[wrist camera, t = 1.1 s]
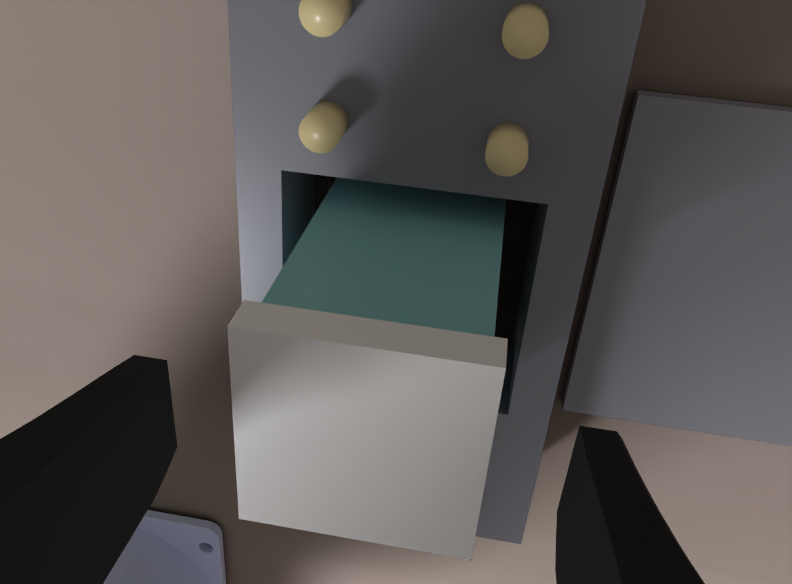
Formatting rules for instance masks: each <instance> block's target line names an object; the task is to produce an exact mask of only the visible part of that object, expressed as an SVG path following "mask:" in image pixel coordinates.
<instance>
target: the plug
mask: <svg viewBox="0 0 792 584" xmlns="http://www.w3.org/2000/svg"><path fill="white" fill-rule="evenodd" d="M505 208H506V199H502V198H495V197H487V196H479V195H471V194H463V193H455V192H448V191H440V190H432V189H424V188H416V187H409V186H401V185H393V184H385V183H377V182H370V181H362V180H354V179H346V178H338V177H337V178H336V180H335V181H334V183H333V185H332V186H331V188H330V190H329V191H328V193H327V195H326V196H325V198H324V199H323V201H322V203H321V204H320V206H319V208H318V209H317V211H316V213H315V214H314V216H313V218H312V219H311V221H310V223H309V224H308V226H307V228H306V229H305V231H304V233H303V234H302V236H301V238H300V239H299V241H298V243H297V244H296V246H295V248H294V249H293V251H292V253H291V254H290V256H289V258H288V259H287V261H286V263H285V264H284V266H283V268H282V269H281V271H280V273H279V274H278V276H277V278H276V279H275V281H274V283H273V284H272V286H271V288H270V289H269V291H268V292H267V294H266V296H265V297H264V299H263V301H262V302H255V301H248V300H244V301H243V302H242V304H241V305H240V307H239V308H238V310H237V312H236V313H235V315H234V316H233V318H232V319H231V321H230V322H229V324H228V326H227V331H228V348H229V364H230V381H231V397H232V413H233V430H234V446H235V463H236V479H237V496H238V512H239V519H243V520H248V521H254V522H260V523H265V524H271V525H276V526H282V527H288V528H293V529H299V530H304V531H310V532H316V533H321V534H327V535H333V536H338V537H344V538H349V539H355V540H361V541H366V542H372V543H377V544H383V545H389V546H394V547H400V548H405V549H411V550H417V551H422V552H428V553H433V554H439V555H445V556H450V557H456V558H461V559H467V560H471V557H472V552H473V547H474V541H475V536H476V530H477V525H478V519H479V514H480V508H481V503H482V497H483V492H484V486H485V481H486V475H487V470H488V464H489V459H490V453H491V448H492V442H493V437H494V431H495V426H496V420H497V415H498V409H499V404H500V398H501V393H502V387H503V382H504V376H505V371H506V359H507V342H508V339H506V338H499V337H494V336H495V325H496V313H497V301H498V290H499V278H500V266H501V254H502V243H503V231H504V219H505Z"/></svg>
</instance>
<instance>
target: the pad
mask: <svg viewBox="0 0 792 584" xmlns="http://www.w3.org/2000/svg"><path fill="white" fill-rule="evenodd" d="M562 411H568V412H575V413H581V414H588V415H594V416H601V417H607V418H614V419H620V420H626V421H633V422H639V423H646V424H652V425H659V426H665V427H671V428H678V429H684V430H691V431H697V432H704V433H710V434H717V435H723V436H729V437H736V438H742V439H749V440H755V441H762V442H768V443H775V444H781V445H787V446H792V107H786V106H777V105H768V104H759V103H750V102H741V101H732V100H723V99H714V98H705V97H696V96H688V95H679V94H670V93H661V92H652V91H643V90H636V94H635V98H634V102H633V106H632V110H631V115H630V119H629V123H628V127H627V131H626V135H625V140H624V144H623V148H622V152H621V156H620V161H619V165H618V169H617V173H616V177H615V182H614V186H613V190H612V194H611V198H610V202H609V207H608V211H607V215H606V219H605V223H604V228H603V232H602V236H601V240H600V244H599V248H598V253H597V257H596V261H595V265H594V269H593V274H592V278H591V282H590V286H589V290H588V295H587V299H586V303H585V307H584V311H583V315H582V320H581V324H580V328H579V332H578V336H577V341H576V345H575V349H574V353H573V357H572V362H571V366H570V370H569V374H568V378H567V382H566V387H565V391H564V395H563V399H562Z"/></svg>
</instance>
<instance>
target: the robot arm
mask: <svg viewBox="0 0 792 584" xmlns="http://www.w3.org/2000/svg"><path fill="white" fill-rule="evenodd" d="M176 448H177V441H176V433H175V424H174V416H173V407H172V399H171V390H170V382H169V373H168V365H167V360H162V359H156V358H149V357H143V356H137V355H134V356H132V357H130V358H129V359H127V360H125V361H124V362H122V363H121V364H119V365H117V366H116V367H114V368H113V369H111V370H110V371H108V372H107V373H105V374H104V375H102V376H100V377H99V378H97V379H96V380H94V381H93V382H91V383H90V384H88V385H87V386H85V387H84V388H82V389H81V390H79V391H78V392H76V393H75V394H73V395H71V396H70V397H68V398H67V399H65V400H64V401H62V402H60V403H59V404H57V405H56V406H54V407H53V408H51V409H49V410H48V411H46V412H45V413H43V414H42V415H40V416H38V417H37V418H35V419H34V420H32V421H30V422H29V423H27V424H25V425H24V426H22V427H20V428H18V429H17V430H15V431H13V432H12V433H10V434H8V435H6V436H5V437H3V438H1V439H0V584H226V575H225V562H224V549H223V537H222V531H221V529H220V527H219V526H218V525H217V524H215V523H214V522H211V521H208V520H202V519H196V518H191V517H185V516H179V515H174V514H168V513H163V512H157V511H151V510H148V509H149V507H150V505H151V503H152V502H153V500H154V498H155V496H156V494H157V492H158V490H159V487H160V485H161V483H162V481H163V479H164V476H165V474H166V472H167V470H168V467H169V465H170V462H171V460H172V458H173V455H174V453H175V450H176ZM555 569H556V581H557V584H705V583H704V582H703V580H702V579H701V577H700V576H699V574H698V573H697V571H696V570H695V568H694V567H693V565H692V564H691V562H690V561H689V559H688V558H687V556H686V555H685V553H684V551H683V550H682V548H681V547H680V545H679V543H678V542H677V540H676V538H675V537H674V535H673V533H672V532H671V530H670V528H669V527H668V525H667V523H666V521H665V520H664V518H663V516H662V515H661V513H660V511H659V510H658V508H657V506H656V504H655V502H654V501H653V499H652V497H651V495H650V493H649V491H648V490H647V488H646V486H645V484H644V482H643V480H642V478H641V476H640V474H639V472H638V470H637V468H636V467H635V465H634V462H633V460H632V458H631V456H630V454H629V452H628V450H627V448H626V446H625V444H624V442H623V440H622V438H621V436H620V435H619V434H618V432H616V431H610V430H604V429H597V428H591V427H585V426H579V430H578V434H577V437H576V441H575V445H574V449H573V453H572V457H571V460H570V464H569V468H568V472H567V476H566V479H565V483H564V487H563V491H562V495H561V499H560V502H559V506H558V510H557V530H556V568H555Z"/></svg>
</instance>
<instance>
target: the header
mask: <svg viewBox="0 0 792 584" xmlns="http://www.w3.org/2000/svg"><path fill="white" fill-rule="evenodd" d="M646 2H647V0H228V17H229V38H230V59H231V81H232V102H233V123H234V144H235V165H236V186H237V207H238V228H239V249H240V270H241V291H242V302H243V301H244V300H248V301H255V302H262V301H263V299H264V297H265V296H266V294H267V292H268V291H269V289H270V288H271V286H272V284H273V283H274V281H275V279H276V278H277V276H278V274H279V273H280V271H281V269H282V268H283V266H284V264H285V263H286V261H287V259H288V258H289V256H290V254H291V253H292V251H293V249H294V248H295V246H296V244H297V243H298V241H299V239H300V238H301V236H302V234H303V233H304V231H305V229H306V228H307V226H308V224H309V223H310V221H311V219H312V218H313V216H314V214H315V212H316V175H323V176H330V177H338V178H346V179H354V180H362V181H370V182H377V183H385V184H393V185H401V186H409V187H416V188H424V189H432V190H440V191H448V192H455V193H463V194H471V195H479V196H487V197H495V198H502V199H510V200H518V201H526V202H534V203H537V208H536V213H535V218H534V224H533V229H532V235H531V240H530V246H529V251H528V257H527V262H526V268H525V273H524V278H523V284H522V289H521V295H520V300H519V306H518V311H517V317H516V322H515V327H514V333H513V338H512V344H507V359H506V371H505V376H504V382H503V387H502V393H501V398H500V404H499V409H498V415H497V420H496V426H495V431H494V437H493V442H492V448H491V453H490V459H489V464H488V470H487V475H486V481H485V486H484V492H483V497H482V503H481V508H480V514H479V519H478V525H477V530H476V536H478V537H483V538H489V539H495V540H501V541H506V542H512V543H518V544H521V542H522V538H523V533H524V529H525V525H526V520H527V516H528V512H529V507H530V503H531V499H532V495H533V490H534V486H535V482H536V477H537V473H538V469H539V464H540V460H541V456H542V451H543V447H544V443H545V438H546V434H547V430H548V425H549V421H550V417H551V413H552V408H553V404H554V400H555V395H556V391H557V387H558V382H559V378H560V374H561V369H562V365H563V361H564V356H565V352H566V348H567V343H568V339H569V335H570V331H571V326H572V322H573V318H574V313H575V309H576V305H577V300H578V296H579V292H580V287H581V283H582V279H583V274H584V270H585V266H586V261H587V257H588V253H589V249H590V244H591V240H592V236H593V231H594V227H595V223H596V218H597V214H598V210H599V205H600V201H601V197H602V192H603V188H604V184H605V179H606V175H607V171H608V167H609V162H610V158H611V154H612V149H613V145H614V141H615V136H616V132H617V128H618V123H619V119H620V115H621V110H622V106H623V102H624V97H625V93H626V89H627V84H628V80H629V76H630V72H631V67H632V63H633V59H634V54H635V50H636V46H637V41H638V37H639V33H640V28H641V24H642V20H643V15H644V11H645V7H646Z"/></svg>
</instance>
